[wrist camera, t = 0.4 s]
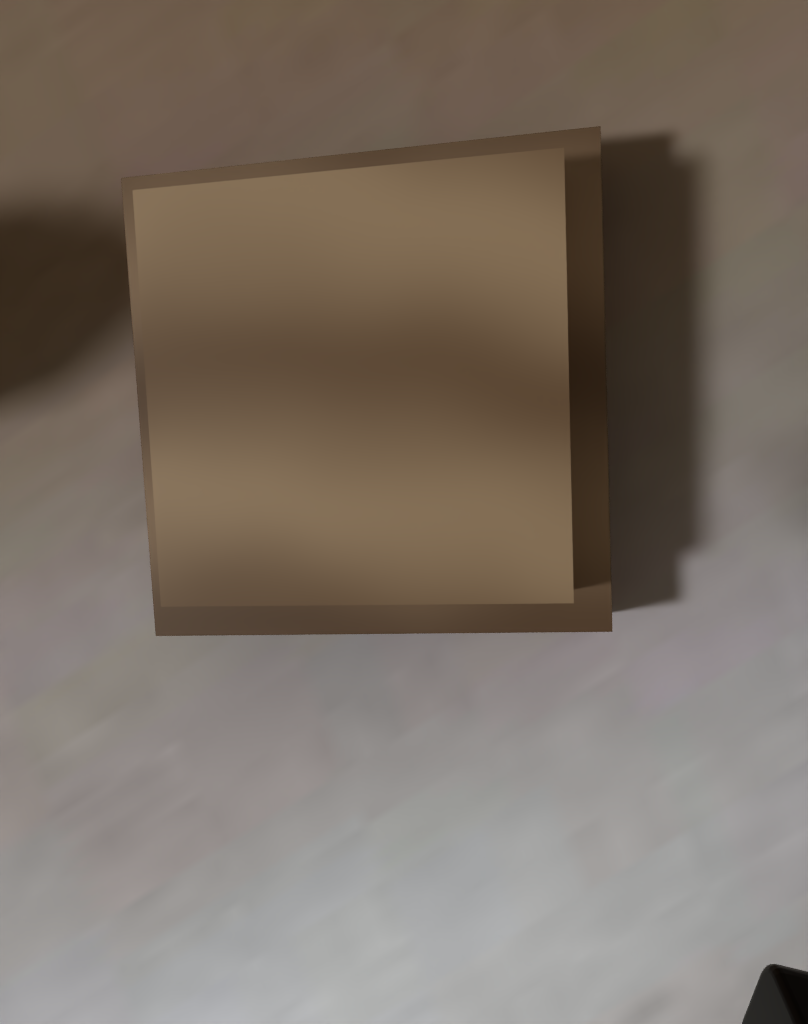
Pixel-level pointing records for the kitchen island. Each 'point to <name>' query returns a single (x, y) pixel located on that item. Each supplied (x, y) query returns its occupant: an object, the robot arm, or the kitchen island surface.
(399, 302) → the top slab
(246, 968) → the kitchen island surface
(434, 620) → the bottom slab
